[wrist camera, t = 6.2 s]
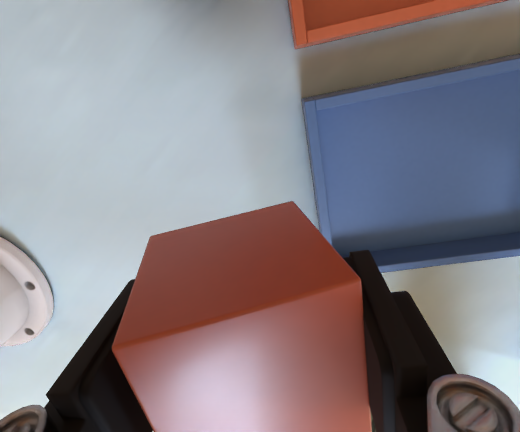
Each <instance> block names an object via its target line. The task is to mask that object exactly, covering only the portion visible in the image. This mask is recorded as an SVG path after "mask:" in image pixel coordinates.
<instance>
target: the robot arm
mask: <svg viewBox="0 0 520 432" xmlns="http://www.w3.org/2000/svg"><path fill="white" fill-rule="evenodd" d="M343 259H344V260H345V261H346V262H347V264H348V265H349V266H350V267H351V268H352V269H353V270H354V272H355V273H356V274H357V275H358V276H359V277H360V279H361V285H362V299H363V313H364V314H363V320H364V334H365V348H366V363H367V377H368V391H369V405H370V410H371V413H372V417H373V421H374V424H375V428H376V432H520V411H519V409H518V408H517V406H516V405H515V404H514V403H513V402H512V400H511V399H510V398H509V397H508V396H507V395H506V394H504V393H503V392H502V391H501V390H499V389H498V388H497V387H495V386H494V385H492V384H490V383H488V382H486V381H484V380H482V379H479V378H476V377H473V376H469V375H464V374H457V373H456V372H455V370H454V368H453V366H452V365H451V363H450V361H449V360H448V358H447V356H446V355H445V353H444V351H443V350H442V348H441V346H440V345H439V343H438V341H437V339H436V338H435V336H434V334H433V333H432V331H431V329H430V328H429V326H428V324H427V323H426V321H425V319H424V318H423V316H422V314H421V313H420V311H419V309H418V307H417V306H416V304H415V302H414V301H413V299H412V297H411V296H410V294H409V293H408V292H406V291H401V292H392V293H391V292H390V290H389V288H388V286H387V284H386V282H385V280H384V278H383V276H382V274H381V272H380V271H379V269H378V267H377V265H376V263H375V261H374V259H373V257H372V255H371V253H370V251H369V250H361V251H353V252H349V257H344V258H343ZM134 282H135V279H134V280H130V281H129V282H128V284H127V285H126V286H125V288H124V289H123V290H122V292H121V293H120V295H119V296H118V297H117V299H116V300H115V301H114V303H113V304H112V305H111V307H110V308H109V310H108V311H107V312H106V314H105V315H104V316H103V318H102V319H101V320H100V322H99V323H98V324H97V326H96V327H95V329H94V330H93V331H92V333H91V334H90V335H89V337H88V338H87V339H86V341H85V342H84V343H83V345H82V346H81V348H80V349H79V350H78V352H77V353H76V354H75V356H74V357H73V358H72V360H71V361H70V362H69V364H68V365H67V367H66V368H65V369H64V371H63V372H62V373H61V375H60V376H59V377H58V379H57V380H56V381H55V383H54V384H53V386H52V387H51V388H50V390H49V391H48V392H47V394H46V396H47V398H48V399H49V402H48V403H47V405H46V406H45V407H44V408H43V407H42V406H40V405H30V406H26V407H22V408H20V409H18V410H16V411H14V412H12V413H10V414H9V415H7V416H6V417H4V418H3V419H1V420H0V432H152V431H153V429H152V427H151V425H150V423H149V422H148V420H147V418H146V416H145V414H144V412H143V410H142V408H141V406H140V404H139V402H138V400H137V398H136V396H135V394H134V392H133V390H132V389H131V387H130V385H129V383H128V381H127V379H126V377H125V375H124V373H123V371H122V369H121V367H120V365H119V363H118V361H117V359H116V357H115V355H114V354H113V352H112V345H113V342H114V339H115V336H116V333H117V330H118V328H119V325H120V322H121V319H122V316H123V313H124V310H125V307H126V305H127V302H128V299H129V296H130V293H131V290H132V287H133V284H134ZM53 309H54V305H53V296H52V293H51V289H50V286H49V284H48V282H47V280H46V279H45V277H44V275H43V273H42V272H41V271H40V269H39V268H38V267H37V265H36V264H35V263H34V262H33V261H32V260H31V259H30V258H29V257H28V256H27V255H26V254H25V253H24V252H22V251H21V250H20V249H19V248H17V247H16V246H15V245H13V244H12V243H10V242H9V241H7V240H5V239H3V238H2V237H0V347H1V346H14V345H19V344H24V343H26V342H28V341H31V340H32V339H34V338H35V337H36V336H38V335H39V334H40V333H41V332H42V331H43V329H44V328H45V327H46V326H47V325H48V323H49V322H50V320H51V318H52V314H53Z"/></svg>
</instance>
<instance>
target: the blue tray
mask: <svg viewBox="0 0 520 432" xmlns="http://www.w3.org/2000/svg"><path fill="white" fill-rule="evenodd" d="M302 106H303V114H304V121H305V128H306V136H307V143H308V150H309V157H310V165H311V172H312V179H313V187H314V194H315V201H316V208H317V216H318V223H319V230H320V233H321V234H322V235H323V236H324V237H325V238H326V240H327V241H328V242H329V243H330V244H331V245H332V246H333V248H334V249H335V250H336V251H337V252H338V253H339V254H340V256H341V257H342V258H344V257H349V252H353V251H361V250H369V251H370V253H371V255H372V257H373V259H374V261H375V263H376V265H377V267H378V269H379V271H380V272H381V273H383V272H391V271H399V270H408V269H416V268H424V267H432V266H440V265H448V264H456V263H465V262H473V261H481V260H489V259H497V258H505V257H514V256H520V54H516V55H511V56H506V57H501V58H496V59H492V60H487V61H482V62H477V63H472V64H467V65H463V66H458V67H453V68H448V69H443V70H438V71H434V72H429V73H424V74H419V75H414V76H409V77H405V78H400V79H395V80H390V81H385V82H380V83H376V84H371V85H366V86H361V87H356V88H351V89H347V90H342V91H337V92H332V93H327V94H322V95H318V96H313V97H308V98H303V99H302Z"/></svg>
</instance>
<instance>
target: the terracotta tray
mask: <svg viewBox="0 0 520 432" xmlns="http://www.w3.org/2000/svg"><path fill="white" fill-rule="evenodd" d="M504 1H508V0H288V4H289V12H290V19H291V26H292V34H293V41H294V48H295V49H299V48H304V47H308V46H313V45H317V44H321V43H326V42H330V41H334V40H339V39H343V38H347V37H352V36H356V35H360V34H365V33H369V32H373V31H378V30H382V29H386V28H391V27H395V26H399V25H404V24H408V23H412V22H417V21H421V20H425V19H430V18H434V17H438V16H443V15H447V14H451V13H456V12H460V11H464V10H469V9H473V8H478V7H482V6H486V5H491V4H495V3H499V2H504Z"/></svg>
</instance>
